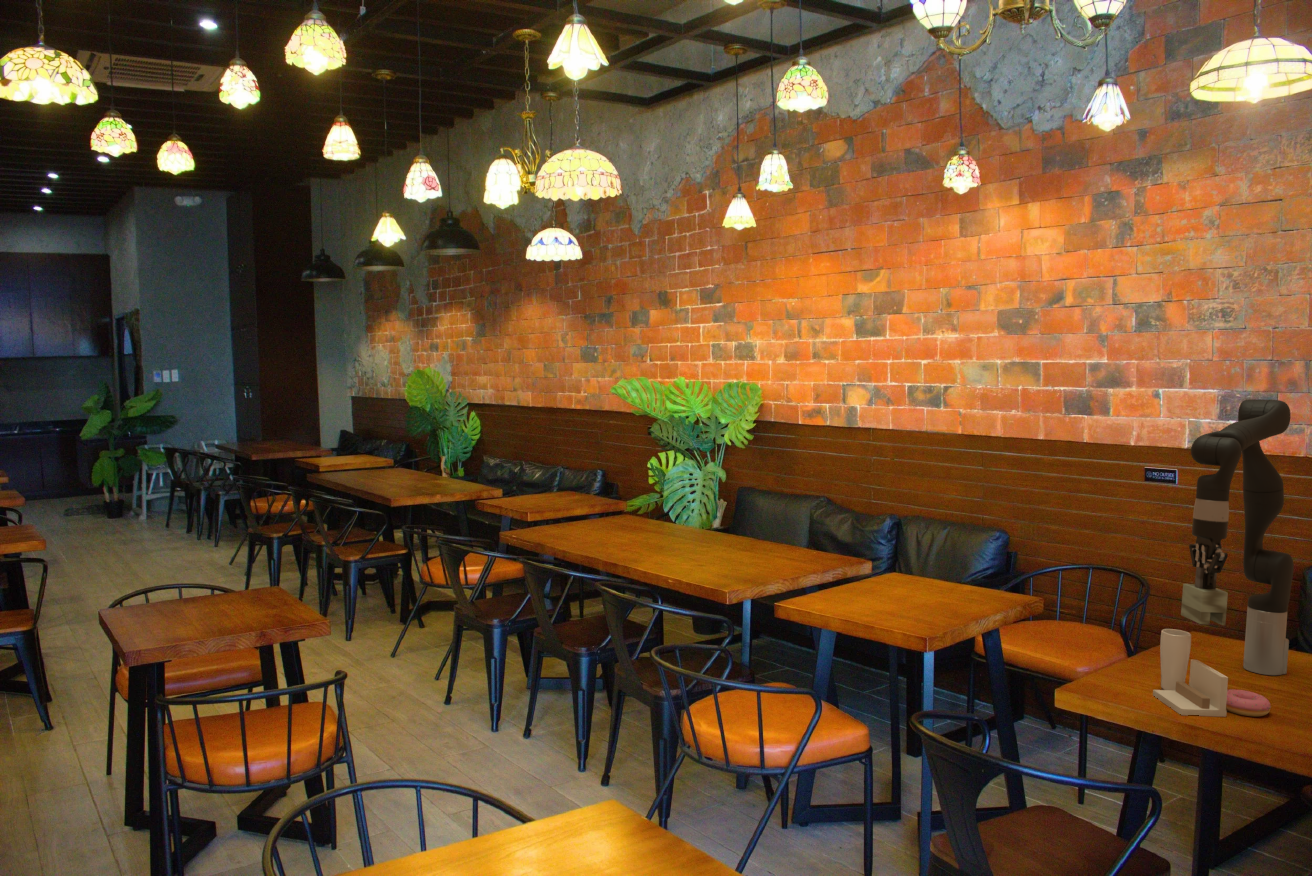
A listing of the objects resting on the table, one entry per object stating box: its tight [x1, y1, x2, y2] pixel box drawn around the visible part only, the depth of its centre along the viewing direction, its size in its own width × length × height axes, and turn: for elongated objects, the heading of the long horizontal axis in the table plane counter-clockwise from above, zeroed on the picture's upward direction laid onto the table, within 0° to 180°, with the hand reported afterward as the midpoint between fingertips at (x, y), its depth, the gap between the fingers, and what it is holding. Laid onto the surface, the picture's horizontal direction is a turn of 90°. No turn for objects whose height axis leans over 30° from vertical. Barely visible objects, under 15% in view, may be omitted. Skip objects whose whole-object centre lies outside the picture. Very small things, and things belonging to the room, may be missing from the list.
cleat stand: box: [1152, 659, 1229, 718], centre depth 233 cm, size 10×14×10 cm
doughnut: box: [1226, 688, 1272, 717], centre depth 231 cm, size 11×11×4 cm
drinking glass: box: [1159, 628, 1192, 690], centre depth 244 cm, size 7×7×15 cm
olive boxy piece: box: [1180, 567, 1229, 626], centre depth 236 cm, size 6×9×13 cm, turn 179°
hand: (1204, 587), depth 236 cm, fingers closed on olive boxy piece
